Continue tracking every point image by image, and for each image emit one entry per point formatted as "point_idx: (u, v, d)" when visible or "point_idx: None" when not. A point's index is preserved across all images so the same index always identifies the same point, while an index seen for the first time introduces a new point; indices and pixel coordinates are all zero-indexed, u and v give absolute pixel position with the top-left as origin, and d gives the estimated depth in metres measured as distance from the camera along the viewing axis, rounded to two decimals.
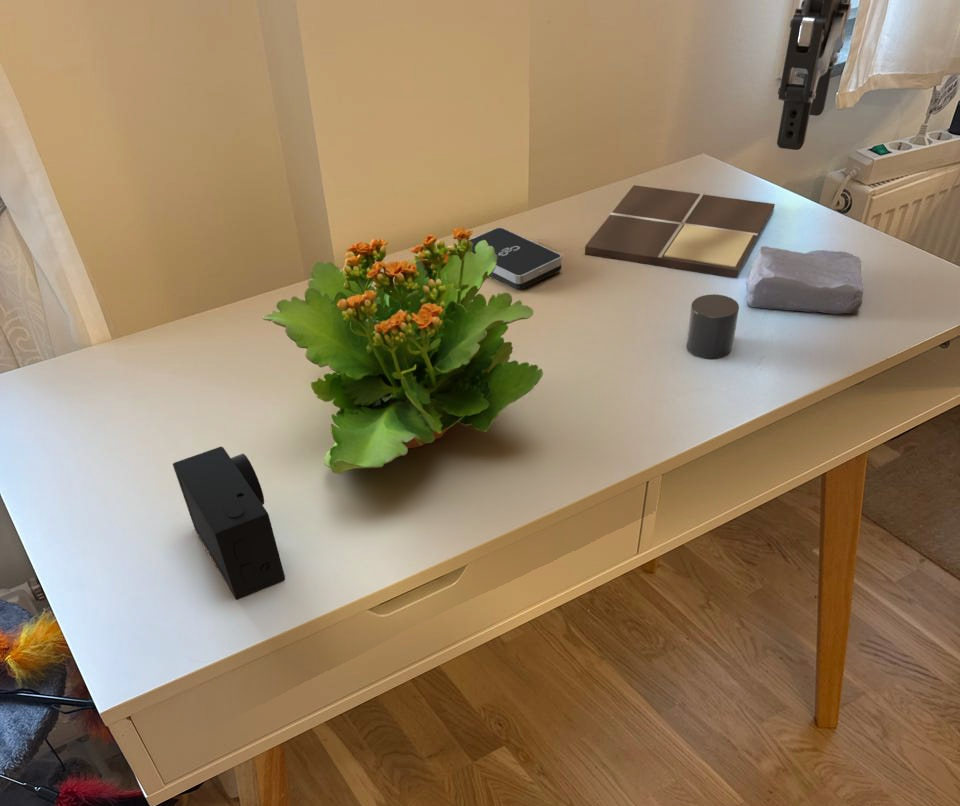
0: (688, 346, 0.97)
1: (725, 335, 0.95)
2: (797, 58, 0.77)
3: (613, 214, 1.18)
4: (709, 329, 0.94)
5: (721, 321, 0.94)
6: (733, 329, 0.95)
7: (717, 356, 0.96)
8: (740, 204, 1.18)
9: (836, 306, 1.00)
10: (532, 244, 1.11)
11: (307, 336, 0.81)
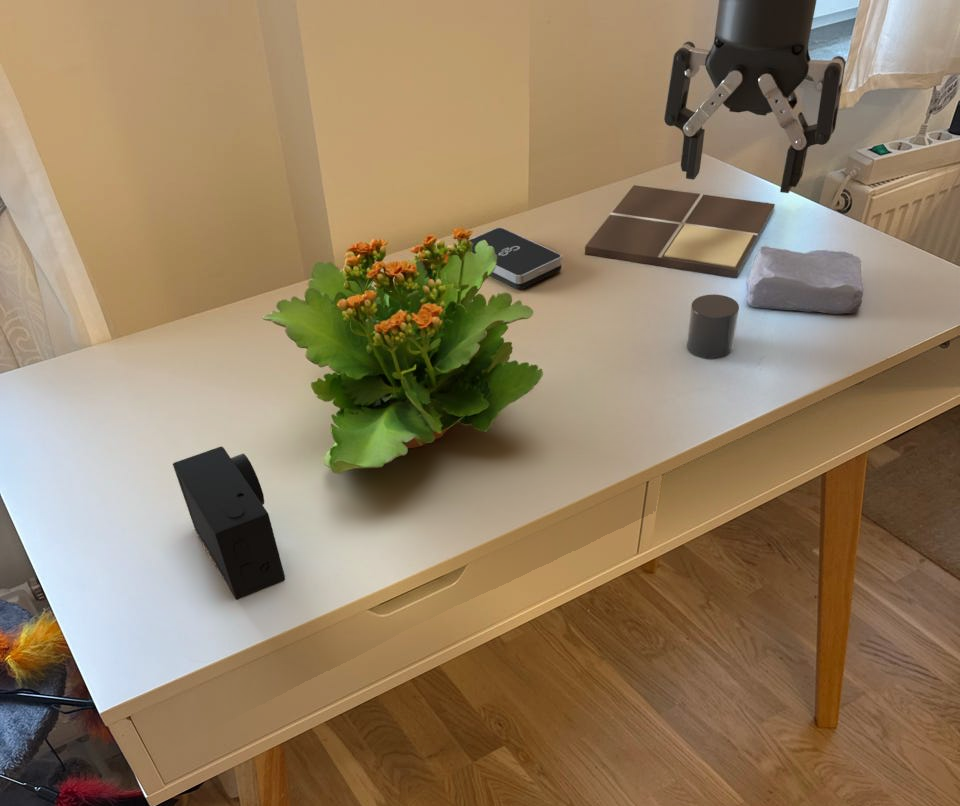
0: (688, 346, 0.97)
1: (725, 335, 0.95)
2: None
3: (613, 214, 1.18)
4: (709, 329, 0.94)
5: (721, 321, 0.94)
6: (733, 329, 0.95)
7: (717, 356, 0.96)
8: (740, 204, 1.18)
9: (836, 306, 1.00)
10: (532, 244, 1.11)
11: (307, 336, 0.81)
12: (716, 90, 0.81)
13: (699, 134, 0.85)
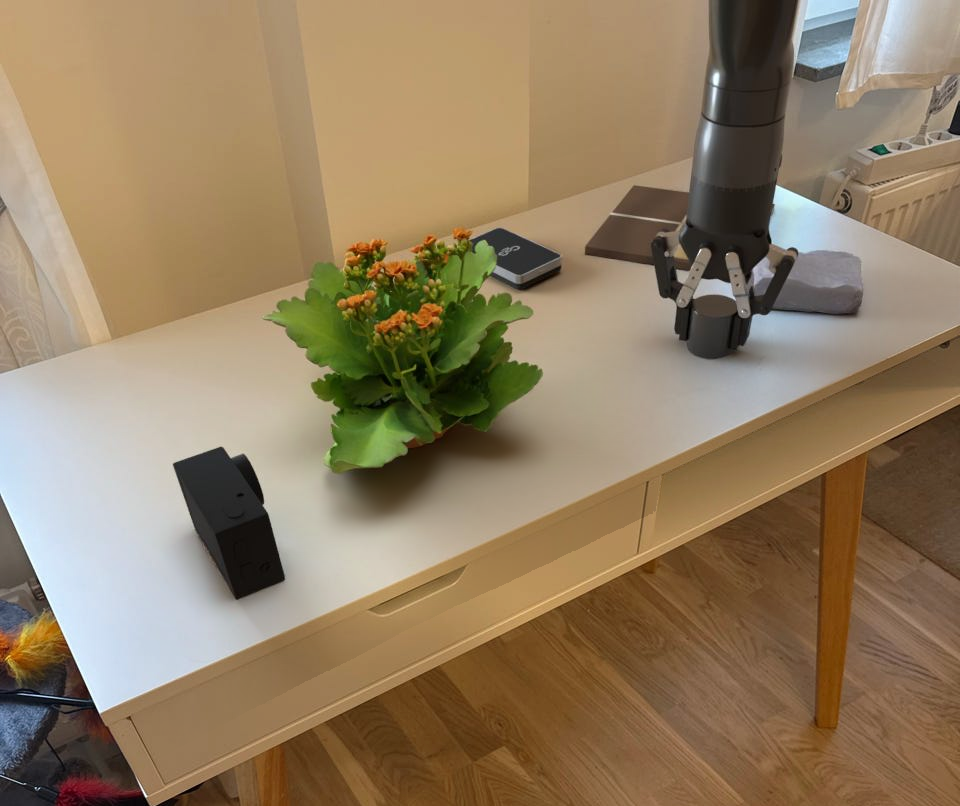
0: (688, 346, 0.97)
1: (725, 335, 0.95)
2: None
3: (613, 214, 1.18)
4: (709, 329, 0.94)
5: (721, 321, 0.94)
6: None
7: (717, 356, 0.96)
8: None
9: (836, 306, 1.00)
10: (532, 244, 1.11)
11: (307, 336, 0.81)
12: (693, 267, 0.91)
13: (690, 304, 0.95)
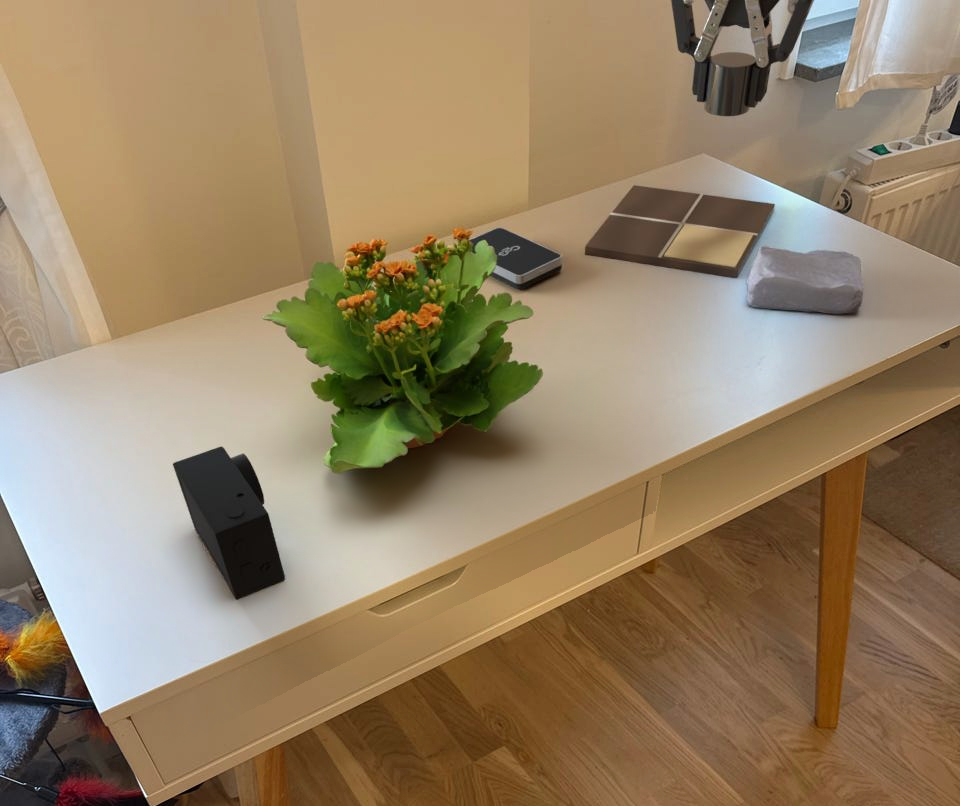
0: (706, 106, 0.98)
1: (743, 88, 0.96)
2: None
3: (613, 214, 1.18)
4: (727, 81, 0.95)
5: (739, 71, 0.95)
6: None
7: (735, 113, 0.97)
8: (740, 204, 1.18)
9: (836, 306, 1.00)
10: (532, 244, 1.11)
11: (307, 336, 0.81)
12: (712, 11, 0.92)
13: (708, 60, 0.97)
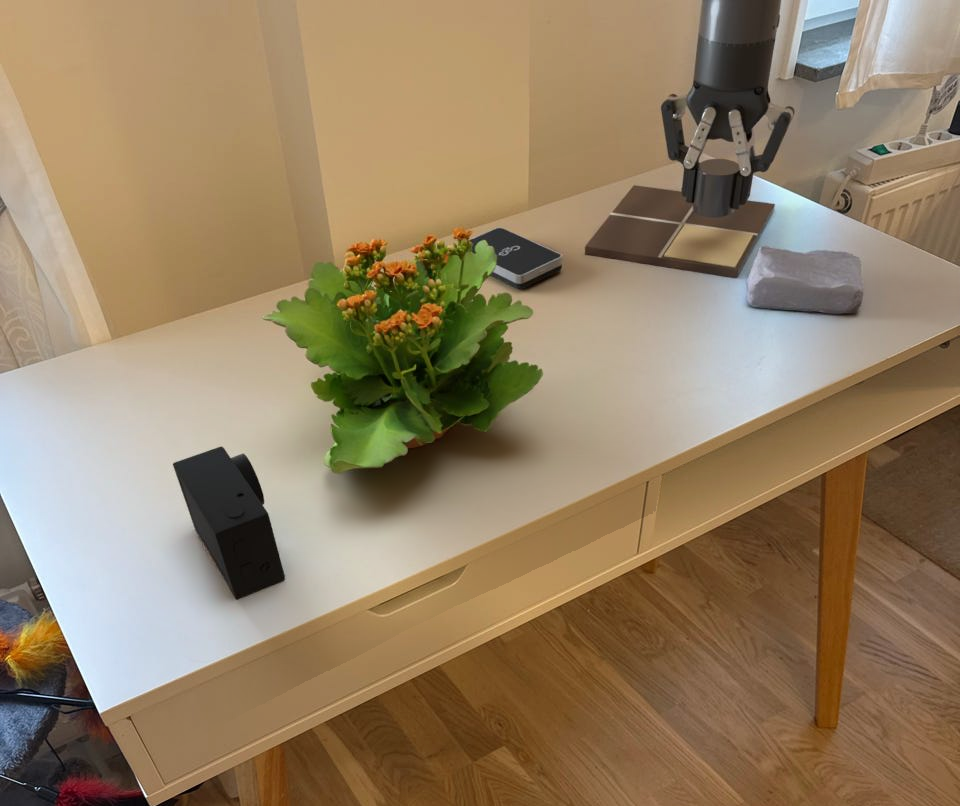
0: (694, 207, 1.07)
1: (728, 193, 1.04)
2: None
3: (613, 214, 1.18)
4: (713, 187, 1.04)
5: (724, 179, 1.03)
6: None
7: (720, 215, 1.06)
8: None
9: (836, 306, 1.00)
10: (533, 244, 1.11)
11: (307, 336, 0.81)
12: (699, 127, 1.01)
13: (696, 167, 1.05)
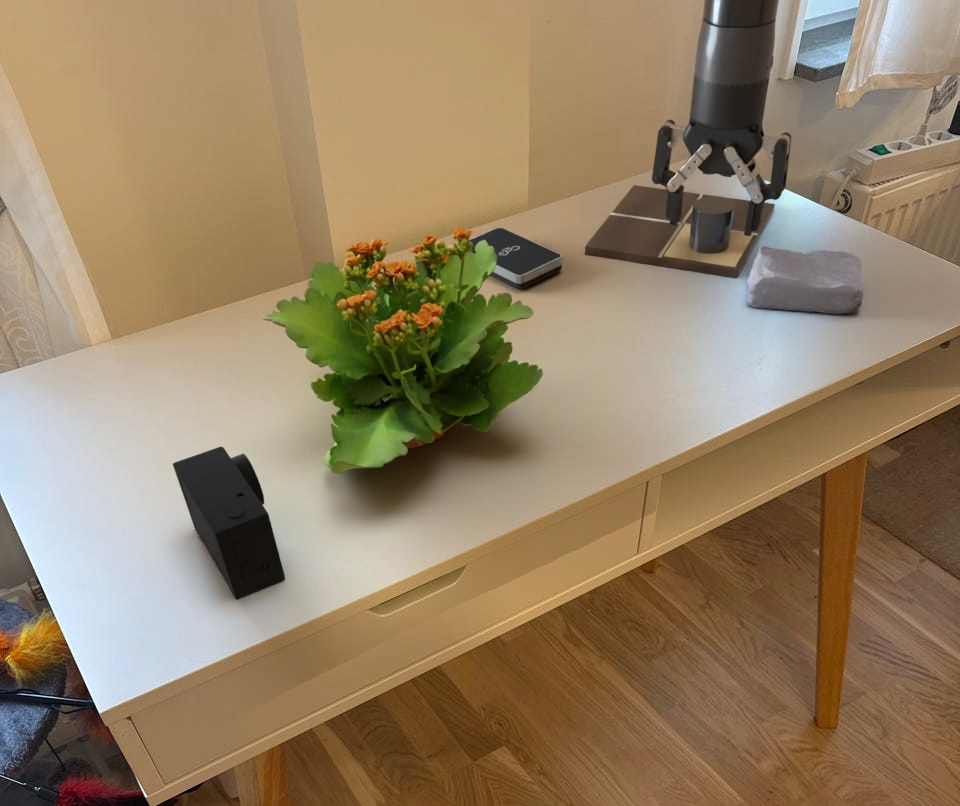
0: (690, 243, 1.10)
1: (723, 231, 1.07)
2: None
3: (613, 214, 1.18)
4: (708, 225, 1.07)
5: (719, 217, 1.06)
6: (730, 226, 1.08)
7: (716, 251, 1.09)
8: (740, 204, 1.18)
9: (836, 306, 1.00)
10: (533, 244, 1.11)
11: (307, 336, 0.81)
12: (692, 158, 1.03)
13: (679, 190, 1.08)
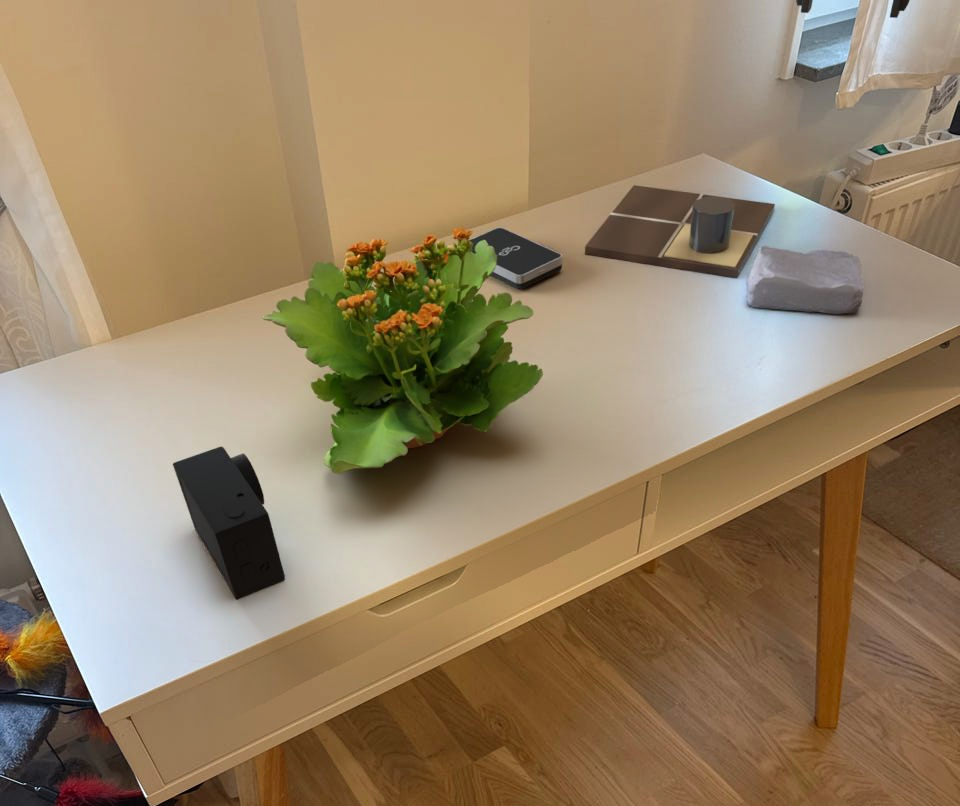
0: (690, 243, 1.10)
1: (723, 231, 1.07)
2: None
3: (613, 214, 1.18)
4: (708, 225, 1.07)
5: (719, 217, 1.06)
6: (730, 226, 1.08)
7: (716, 251, 1.09)
8: (740, 204, 1.18)
9: (836, 306, 1.00)
10: (533, 244, 1.11)
11: (307, 336, 0.81)
12: None
13: None
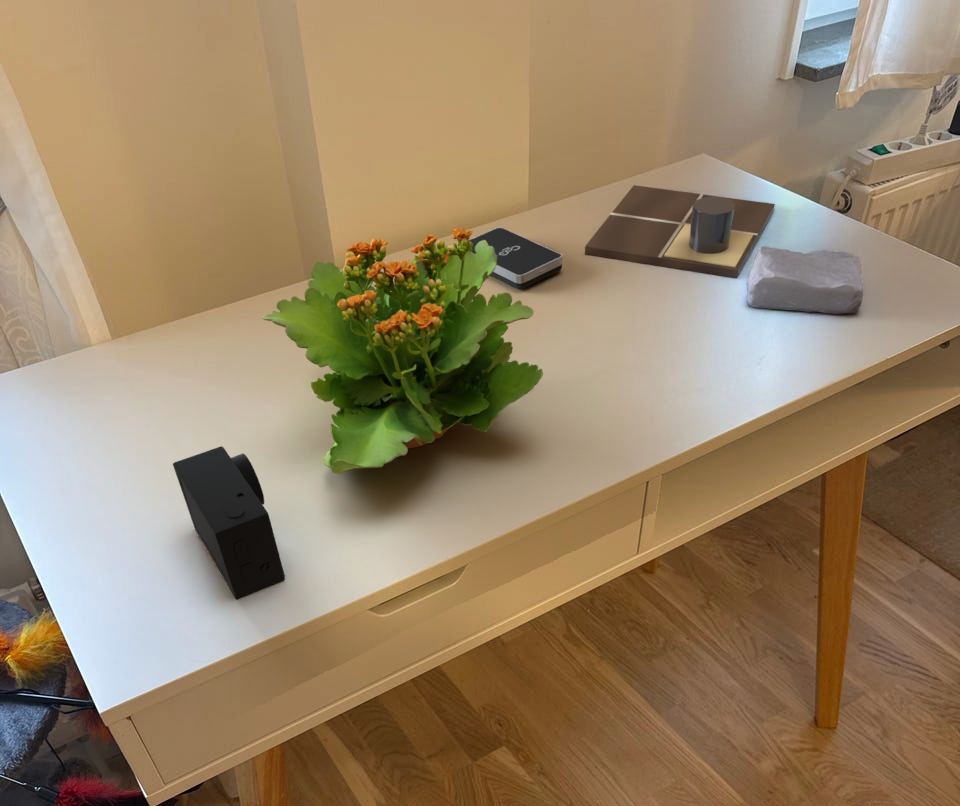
0: (690, 243, 1.10)
1: (723, 231, 1.07)
2: None
3: (613, 214, 1.18)
4: (708, 225, 1.07)
5: (719, 217, 1.06)
6: (730, 226, 1.08)
7: (716, 251, 1.09)
8: (740, 204, 1.18)
9: (836, 306, 1.00)
10: (533, 244, 1.11)
11: (307, 336, 0.81)
12: None
13: None
